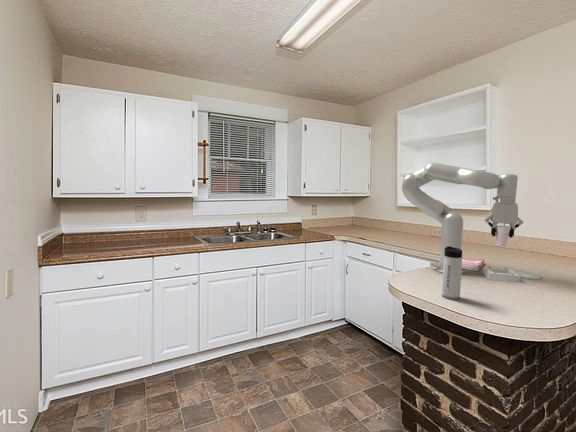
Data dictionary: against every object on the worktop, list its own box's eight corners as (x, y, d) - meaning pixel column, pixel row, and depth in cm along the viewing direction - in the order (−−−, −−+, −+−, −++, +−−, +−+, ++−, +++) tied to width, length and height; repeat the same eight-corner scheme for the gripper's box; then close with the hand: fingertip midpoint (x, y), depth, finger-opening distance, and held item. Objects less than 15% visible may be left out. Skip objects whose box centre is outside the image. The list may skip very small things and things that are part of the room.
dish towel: (485, 264, 175) (485, 258, 175) (477, 272, 158) (477, 266, 158) (452, 260, 187) (453, 254, 186) (442, 266, 169) (442, 260, 169)
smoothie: (502, 247, 142) (505, 218, 141) (489, 244, 148) (492, 216, 147) (512, 246, 144) (515, 218, 142) (499, 244, 150) (502, 216, 149)
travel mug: (453, 294, 123) (456, 246, 121) (463, 300, 116) (466, 249, 114) (438, 294, 123) (440, 246, 121) (447, 300, 116) (450, 249, 114)
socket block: (489, 279, 144) (489, 271, 143) (483, 273, 155) (483, 265, 155) (519, 282, 139) (519, 274, 139) (510, 275, 150) (511, 267, 150)
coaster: (520, 278, 147) (520, 276, 147) (513, 272, 156) (513, 271, 156) (545, 280, 143) (545, 279, 143) (536, 275, 152) (536, 273, 152)
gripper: (486, 199, 144) (483, 236, 145) (530, 201, 137) (526, 239, 139) (482, 199, 150) (479, 234, 152) (524, 200, 144) (520, 237, 146)
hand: (502, 236), depth 146 cm, fingers closed on smoothie, 6 cm apart
